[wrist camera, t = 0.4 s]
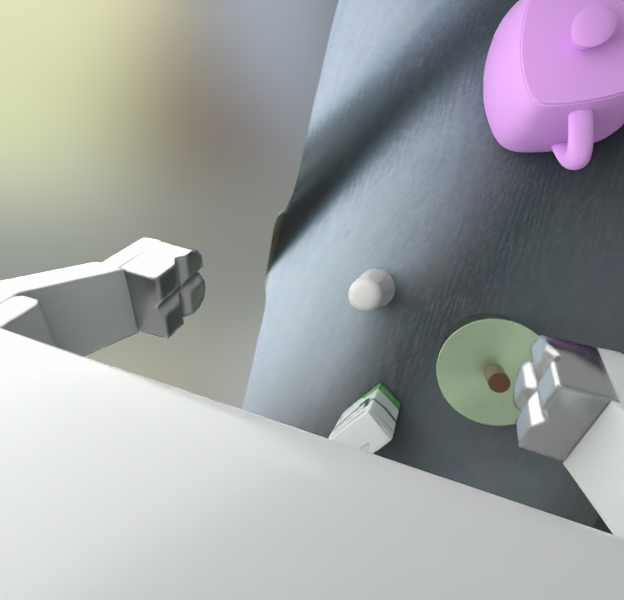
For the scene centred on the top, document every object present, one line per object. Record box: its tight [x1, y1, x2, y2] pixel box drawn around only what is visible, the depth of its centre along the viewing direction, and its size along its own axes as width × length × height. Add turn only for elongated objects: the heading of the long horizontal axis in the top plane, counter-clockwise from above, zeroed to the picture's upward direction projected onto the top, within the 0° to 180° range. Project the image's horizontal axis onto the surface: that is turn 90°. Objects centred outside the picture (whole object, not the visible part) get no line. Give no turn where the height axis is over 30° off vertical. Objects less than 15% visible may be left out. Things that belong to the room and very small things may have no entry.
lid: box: [436, 318, 538, 426], centre depth 48 cm, size 14×14×5 cm
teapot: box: [483, 0, 624, 170], centre depth 43 cm, size 23×21×15 cm
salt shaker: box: [349, 269, 396, 312], centre depth 54 cm, size 6×6×13 cm
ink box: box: [328, 383, 400, 454], centre depth 57 cm, size 9×5×12 cm, turn 134°
